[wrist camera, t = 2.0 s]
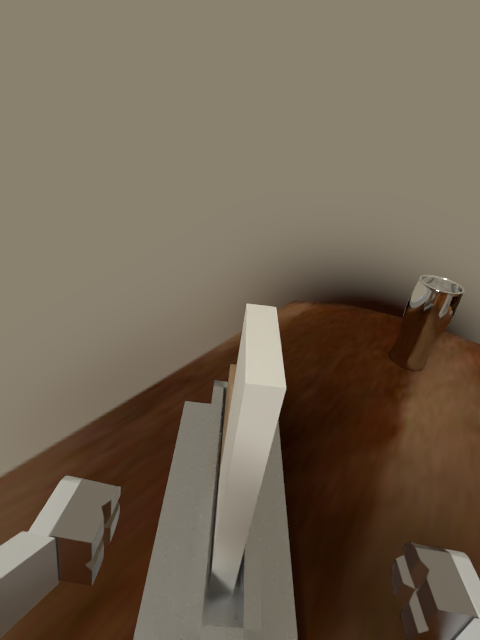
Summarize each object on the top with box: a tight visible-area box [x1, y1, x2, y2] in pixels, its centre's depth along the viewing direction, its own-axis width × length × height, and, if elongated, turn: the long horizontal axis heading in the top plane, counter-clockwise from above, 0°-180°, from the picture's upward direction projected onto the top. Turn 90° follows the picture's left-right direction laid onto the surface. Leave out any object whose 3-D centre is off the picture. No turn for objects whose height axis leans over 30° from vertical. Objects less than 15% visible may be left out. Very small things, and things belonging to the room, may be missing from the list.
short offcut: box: [221, 364, 237, 441], centre depth 41 cm, size 2×5×8 cm, turn 178°
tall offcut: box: [217, 383, 234, 488], centre depth 35 cm, size 2×5×10 cm, turn 178°
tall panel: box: [208, 304, 286, 593], centre depth 26 cm, size 2×8×22 cm, turn 178°
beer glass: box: [389, 275, 465, 371], centre depth 59 cm, size 7×7×15 cm
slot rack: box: [133, 381, 298, 640], centre depth 35 cm, size 12×25×6 cm, turn 179°
